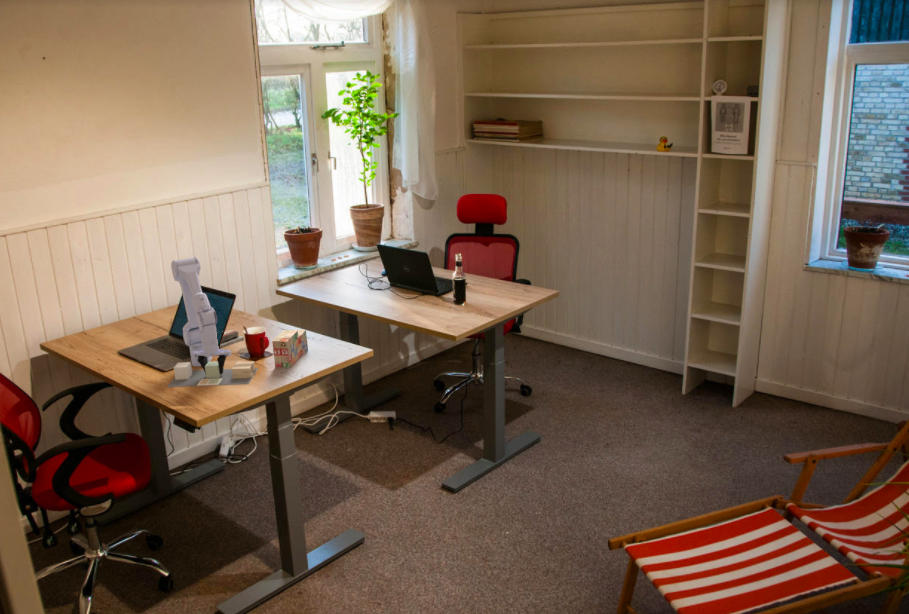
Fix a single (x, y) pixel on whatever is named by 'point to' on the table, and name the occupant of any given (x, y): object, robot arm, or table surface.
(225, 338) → the stapler
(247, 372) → the base block
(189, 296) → the robot arm
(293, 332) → the stack of blocks
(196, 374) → the mat
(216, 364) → the sage cube
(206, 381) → the card
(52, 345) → the table surface
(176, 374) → the offwhite cube
